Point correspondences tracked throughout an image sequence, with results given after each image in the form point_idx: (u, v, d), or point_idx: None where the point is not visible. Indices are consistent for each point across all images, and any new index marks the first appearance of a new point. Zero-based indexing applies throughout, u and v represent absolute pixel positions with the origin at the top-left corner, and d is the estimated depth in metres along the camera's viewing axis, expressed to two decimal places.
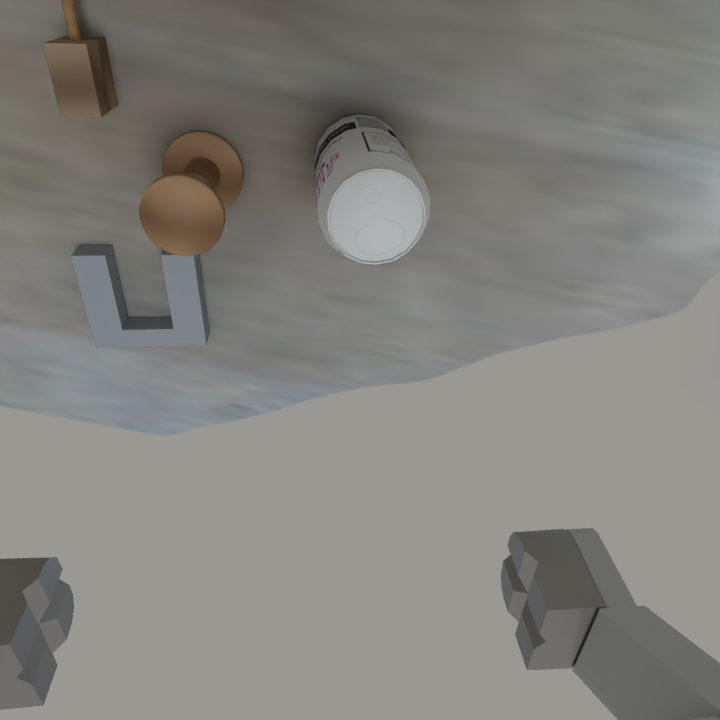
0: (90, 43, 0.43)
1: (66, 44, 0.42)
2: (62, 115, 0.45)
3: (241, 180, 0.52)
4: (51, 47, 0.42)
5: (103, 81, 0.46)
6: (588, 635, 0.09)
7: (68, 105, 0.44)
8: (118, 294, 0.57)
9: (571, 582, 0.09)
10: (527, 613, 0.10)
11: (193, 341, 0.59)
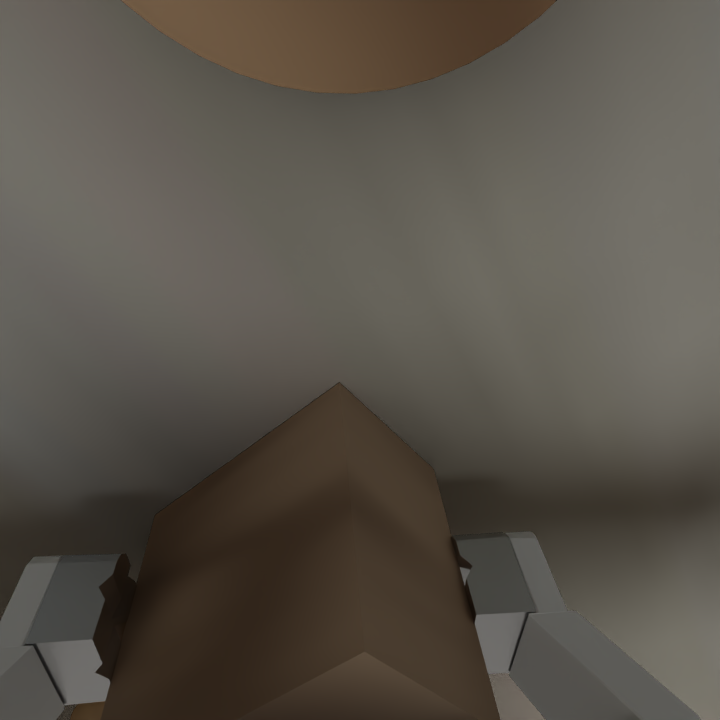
0: (103, 719, 0.09)
1: None
2: None
3: None
4: None
5: (242, 563, 0.09)
6: (520, 640, 0.09)
7: None
8: None
9: (503, 586, 0.09)
10: None
11: None
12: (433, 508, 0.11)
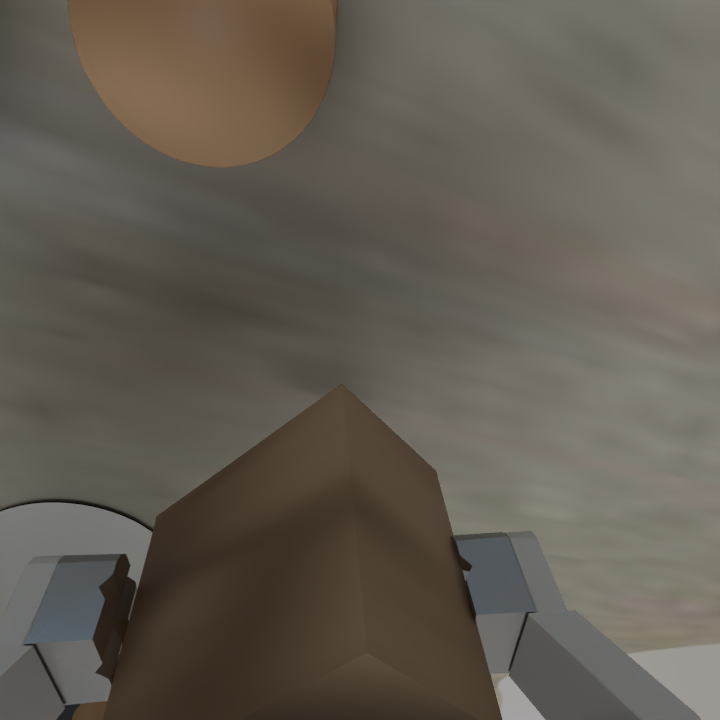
0: None
1: None
2: None
3: None
4: None
5: (244, 564, 0.09)
6: (520, 640, 0.09)
7: None
8: None
9: (503, 586, 0.09)
10: None
11: None
12: (435, 510, 0.11)
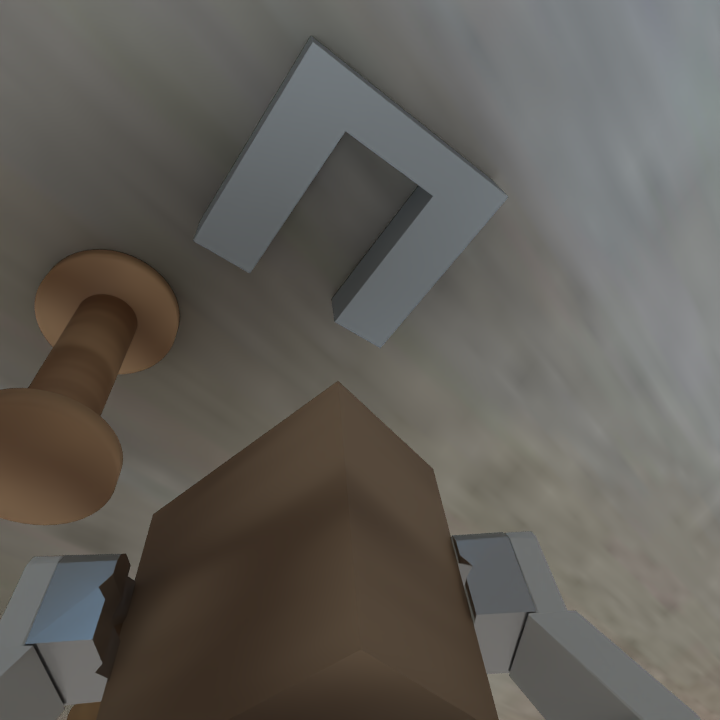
0: (99, 718, 0.09)
1: None
2: None
3: (45, 280, 0.29)
4: None
5: (239, 561, 0.09)
6: (520, 640, 0.09)
7: None
8: (385, 241, 0.29)
9: (503, 586, 0.09)
10: None
11: (331, 74, 0.24)
12: (432, 507, 0.11)
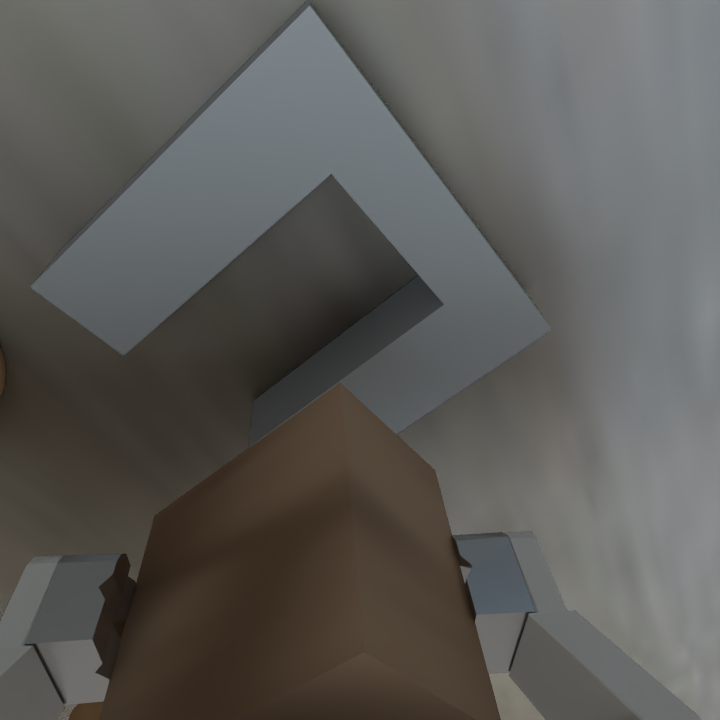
0: None
1: None
2: None
3: None
4: None
5: (241, 563, 0.09)
6: (520, 640, 0.09)
7: None
8: (353, 345, 0.19)
9: (503, 586, 0.09)
10: None
11: (329, 72, 0.13)
12: (434, 509, 0.11)
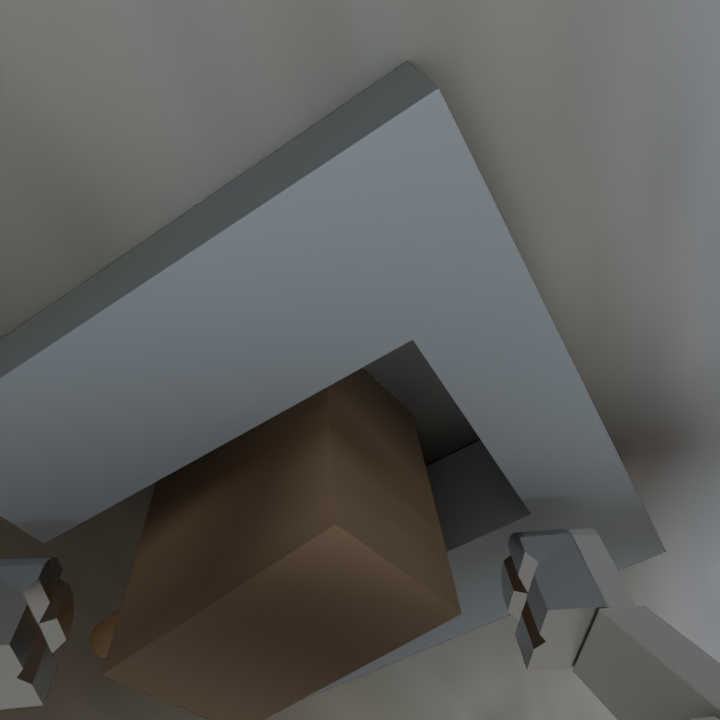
0: (121, 614, 0.10)
1: (172, 702, 0.10)
2: (451, 612, 0.09)
3: None
4: (230, 716, 0.10)
5: (238, 480, 0.10)
6: (588, 635, 0.09)
7: (391, 617, 0.09)
8: None
9: (571, 582, 0.09)
10: (527, 613, 0.10)
11: (446, 196, 0.08)
12: (408, 441, 0.12)
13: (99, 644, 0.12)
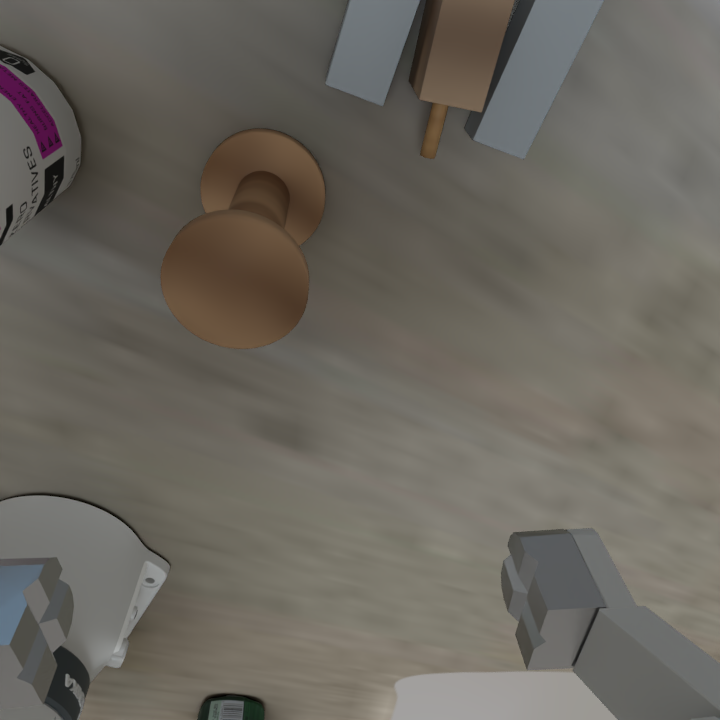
0: (417, 93, 0.27)
1: (448, 104, 0.27)
2: None
3: (206, 169, 0.32)
4: (472, 103, 0.27)
5: (428, 24, 0.27)
6: (588, 635, 0.09)
7: (495, 5, 0.25)
8: (509, 40, 0.29)
9: (571, 582, 0.09)
10: (527, 613, 0.10)
11: None
12: None
13: (424, 152, 0.30)
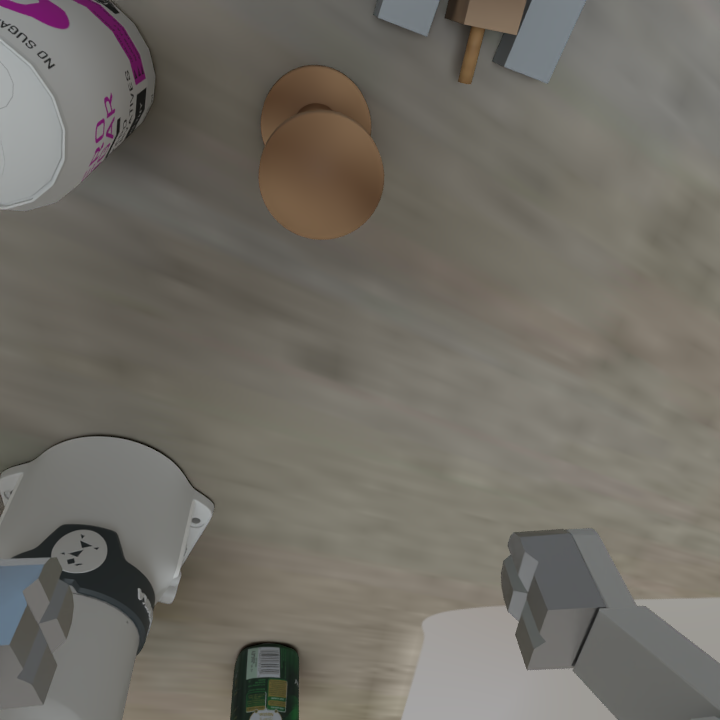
0: (460, 21, 0.32)
1: (488, 28, 0.31)
2: None
3: (266, 102, 0.36)
4: (509, 27, 0.31)
5: None
6: (588, 635, 0.09)
7: None
8: None
9: (571, 582, 0.09)
10: (527, 613, 0.10)
11: None
12: None
13: (462, 78, 0.34)
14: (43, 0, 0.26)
